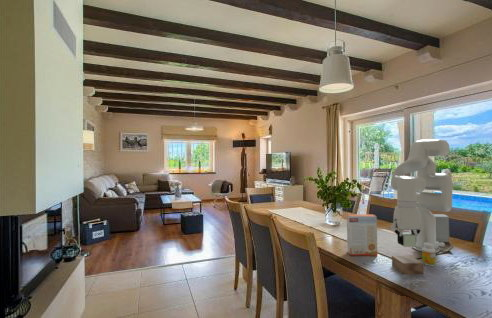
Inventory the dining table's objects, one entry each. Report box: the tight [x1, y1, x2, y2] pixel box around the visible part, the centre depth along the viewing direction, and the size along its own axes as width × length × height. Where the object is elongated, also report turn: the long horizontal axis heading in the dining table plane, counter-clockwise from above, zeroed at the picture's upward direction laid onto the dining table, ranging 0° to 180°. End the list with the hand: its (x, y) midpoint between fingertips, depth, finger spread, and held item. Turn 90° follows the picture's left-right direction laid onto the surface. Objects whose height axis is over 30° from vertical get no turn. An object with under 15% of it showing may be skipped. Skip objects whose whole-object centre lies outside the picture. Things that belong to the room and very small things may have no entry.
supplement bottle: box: [421, 243, 437, 267], centre depth 127 cm, size 5×5×10 cm
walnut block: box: [391, 255, 425, 275], centre depth 121 cm, size 9×9×5 cm
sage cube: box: [401, 232, 416, 248], centre depth 121 cm, size 5×5×5 cm
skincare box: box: [433, 213, 450, 243], centre depth 161 cm, size 8×7×16 cm
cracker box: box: [346, 213, 378, 257], centre depth 141 cm, size 14×6×21 cm, turn 84°
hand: (406, 243), depth 121 cm, fingers closed on sage cube, 5 cm apart
